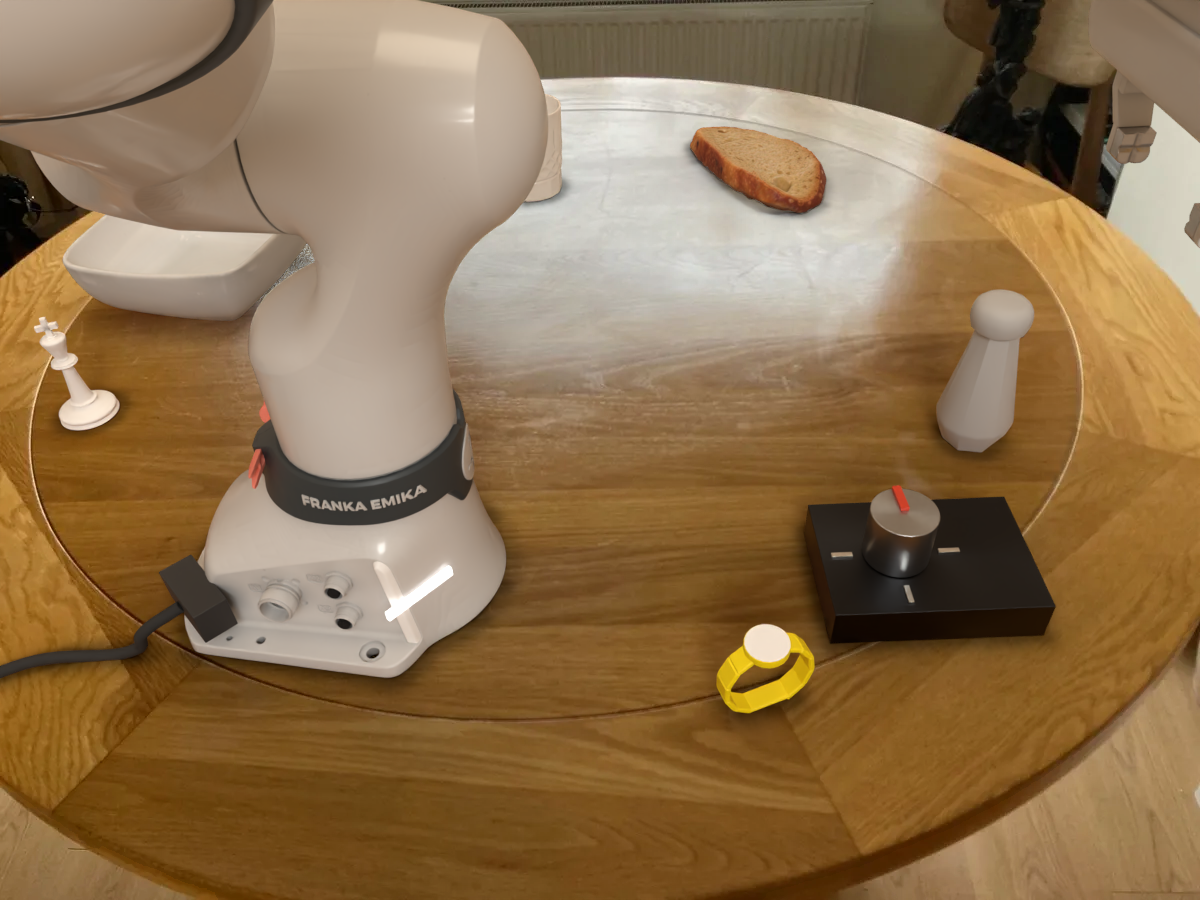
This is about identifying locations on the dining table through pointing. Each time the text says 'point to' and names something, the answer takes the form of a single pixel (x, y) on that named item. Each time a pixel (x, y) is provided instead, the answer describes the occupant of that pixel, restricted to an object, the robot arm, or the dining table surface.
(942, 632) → the black dial panel
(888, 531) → the knob
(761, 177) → the bread slice
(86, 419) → the chess piece
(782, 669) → the dining table surface
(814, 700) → the dining table surface
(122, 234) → the bowl
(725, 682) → the watch
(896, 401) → the dining table surface
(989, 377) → the salt shaker
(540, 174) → the white cup
